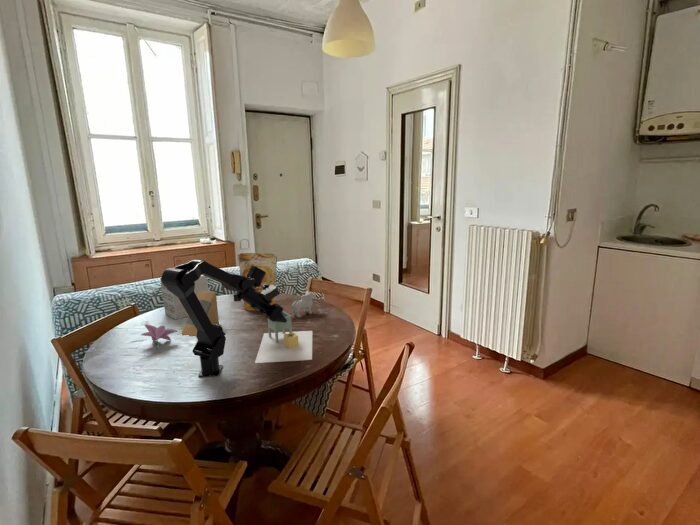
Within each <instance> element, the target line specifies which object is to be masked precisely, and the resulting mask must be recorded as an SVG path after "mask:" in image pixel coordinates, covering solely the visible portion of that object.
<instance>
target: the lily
mask: <svg viewBox="0 0 700 525" xmlns="http://www.w3.org/2000/svg"><path fill="white" fill-rule="evenodd" d="M144 327H145V328H146V330H148V331H146V332H144V333H142V334H141V335H140V336H144V337H145V336H146V337H151V340H152V342H156V344H155V345H156V350H158V340H160V339H163V340H166V341H172V339H171V337H170V336H169V335H172V334H174V333H177V332H178V330H176V329H172V328H170V329H169V328H167V329H166V326H165V325H160V326H159V327H156V326H155V325H152V324H146V323H145V324H144ZM155 340H156V341H155Z"/></svg>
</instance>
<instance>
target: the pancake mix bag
mask: <svg viewBox="0 0 700 525" xmlns="http://www.w3.org/2000/svg"><path fill="white" fill-rule="evenodd" d="M237 260H238V261H237V262H238V267H239V275H240V276H245V277H246V276H247V274H248V273H249V271H250V268H251V266H256V267H257V268H260V269H261V270H263V271H265V272H266V275H265V277H264V279H263V281H262V283H261V285H260V287H256V288H254V289H255V290H256V291H258V292H260V293H261V292H262V290H263V289H262V286H263V285H264V284H267V285H268V286H270V285H274V286H276V285H277V284H276V283H277V281H276V280H277V268H278V267H277V265H278V257H277V255H275V254H274V253H255V252H254V253H253V252H243V253H239V254H237ZM275 299H276V298H275V297H274V298H273V299H271V300H272V302H271V305H273V304H275ZM243 309H244V310H246V311H249V312H250V311H251V312H257V311H256V310H255V309H253V308H252V307H251V306H250V305H249V304H247V303H246V302H245V301H243Z"/></svg>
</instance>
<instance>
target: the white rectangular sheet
mask: <svg viewBox="0 0 700 525" xmlns="http://www.w3.org/2000/svg"><path fill="white" fill-rule="evenodd" d="M292 333H295V334H296V335H298V344H299V345H298V346H295V347H292V348H288V347H287V346H285V345H284V335H286V334H289V331H285V333H282V331H278V343H276V339H275V332H271V337H269V333H268V332H265V333H263V335H262V338H261V342H260V345H259V349H258V352H257V355H256V357H255V361H254V364H264V363H277V362H278V363H279V362H280V363H281V362H296V361H297V362H298V361H311V360H313V330H303V331H302V330H297V331H292Z"/></svg>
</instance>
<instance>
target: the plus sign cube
mask: <svg viewBox="0 0 700 525" xmlns="http://www.w3.org/2000/svg"><path fill="white" fill-rule="evenodd" d="M284 345H285V346H287V347H288V348H292V347H295V346H298V345H299V344H298V335H296V334H295V333H289V334H286V335H284Z"/></svg>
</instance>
